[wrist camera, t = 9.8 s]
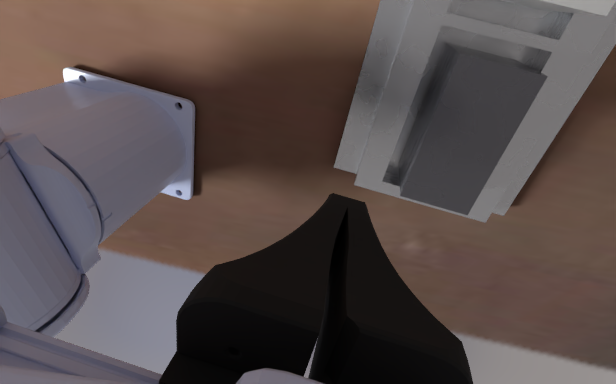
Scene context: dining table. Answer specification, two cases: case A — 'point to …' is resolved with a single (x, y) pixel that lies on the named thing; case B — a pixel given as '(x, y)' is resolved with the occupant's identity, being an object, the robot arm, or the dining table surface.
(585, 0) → the white rectangular block
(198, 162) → the dining table surface
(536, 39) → the slotted base
